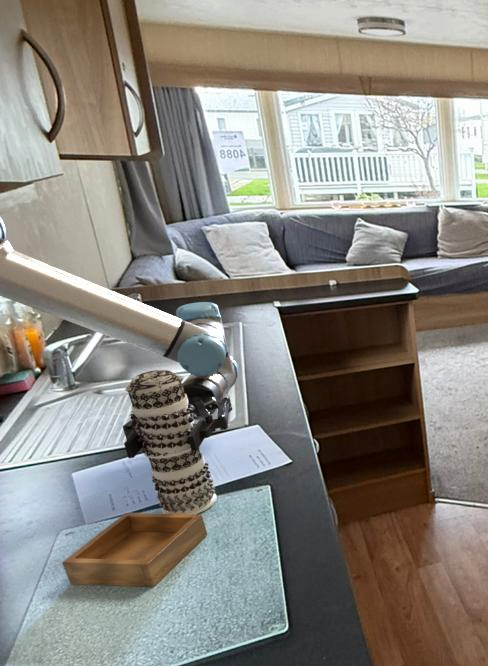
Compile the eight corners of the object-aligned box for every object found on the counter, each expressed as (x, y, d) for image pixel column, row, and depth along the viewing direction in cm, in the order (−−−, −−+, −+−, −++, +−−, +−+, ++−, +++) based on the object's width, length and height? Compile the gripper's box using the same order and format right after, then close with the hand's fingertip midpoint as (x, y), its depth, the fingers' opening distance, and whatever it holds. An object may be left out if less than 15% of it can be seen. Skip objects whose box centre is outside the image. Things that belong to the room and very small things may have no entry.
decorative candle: (153, 523, 111) (109, 389, 101) (167, 496, 119) (128, 369, 109) (213, 513, 113) (176, 381, 104) (223, 487, 122) (189, 362, 112)
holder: (70, 584, 97) (61, 562, 95) (132, 532, 109) (125, 512, 107) (154, 586, 96) (147, 564, 95) (207, 534, 108) (202, 514, 107)
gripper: (263, 406, 131) (236, 458, 111) (144, 418, 126) (93, 475, 106) (256, 372, 128) (227, 419, 108) (133, 382, 123) (78, 434, 103)
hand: (160, 447), depth 107 cm, fingers closed on decorative candle, 8 cm apart
